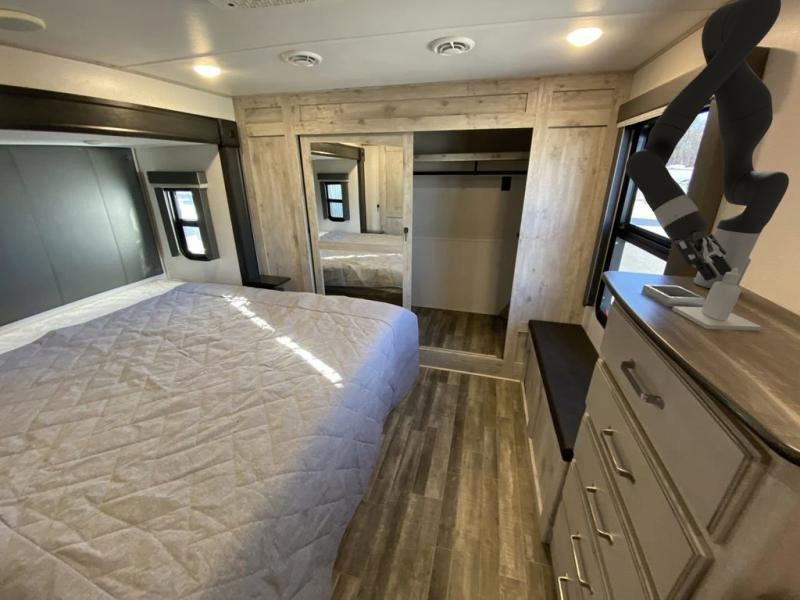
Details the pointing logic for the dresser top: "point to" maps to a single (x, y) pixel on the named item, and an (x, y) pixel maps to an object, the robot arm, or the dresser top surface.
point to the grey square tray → (683, 299)
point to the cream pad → (710, 323)
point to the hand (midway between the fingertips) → (720, 276)
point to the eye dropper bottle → (722, 296)
